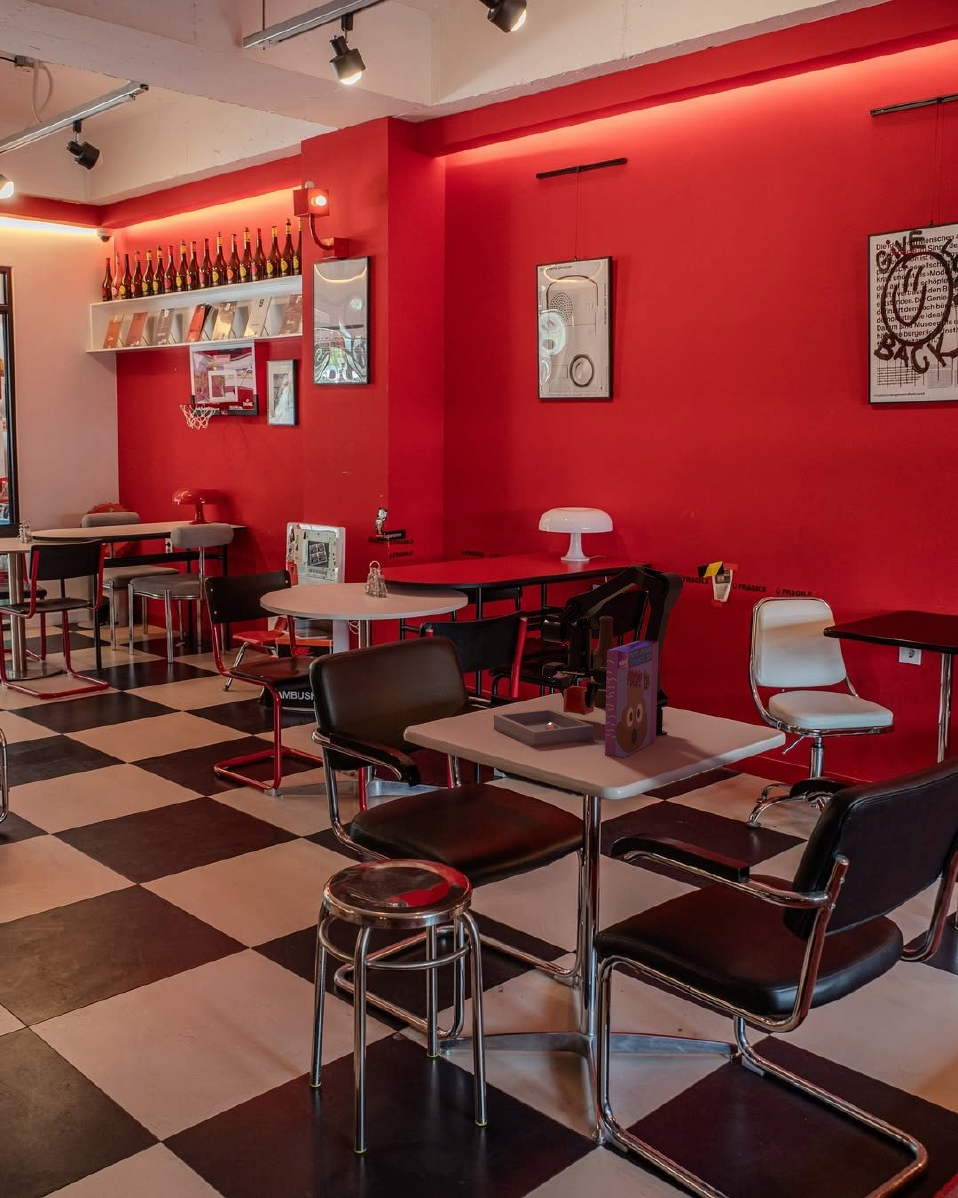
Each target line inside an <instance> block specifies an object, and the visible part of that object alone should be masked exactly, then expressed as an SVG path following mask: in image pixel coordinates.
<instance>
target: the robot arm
mask: <svg viewBox="0 0 958 1198" xmlns="http://www.w3.org/2000/svg"><path fill="white" fill-rule="evenodd" d="M633 586H637V587H639V588H640V589H642V590H645V591H647V599H648V604H649V607H650V609H649V615H648V619H647V624H646V626H645V633H644V638H643V640H650V641H655V642H659V643H658V679H657V714H656V737H657V736H664V735H665V736H666V735H668V733H669V732H668V731H665V730H663V726H664V725H663V723H664V722H663V721H664V719H663V718H664V710H663V708H666V707H668V705H669V702H670V698H669V697H668V695H667V694H666V693H665V692H664V690H663V689H662V687H661V685H662V682H661V680H662V676H661V673H660V669H659V668H660V667H659V666H660V660H661V656H662V652H663V647H664V644H665V643H664V642H665V638H666V634H667V630H668V625H669V620H670V615H671V612H672V610H673V609H674V607H675V606H676V604H677V603H678V601H679V599H680V597H681V594H682V593H683V592H682V591H683V588H684V580H683V579H682V577H681V576H680V575H679V574H678V573H677V572H674V571H673V572H672V571H671V572H665V571H662V570H657V569H653V568H650V567H646V566H643V565H642V564H641V565H640V564H637V565H636V564H635V565H631V566H628V567H627V568H626V569H625V570H624V571H623V570H622V572H620V573H618V574H617V575H615V576H613V577H612V578H610V579H609V580H607V581H605V582H603V583H602V584H600V585H599V586H597V587H595V588H594V589H592V590H589V591H585V592H581V593H579V594H576V595H574V596H571V597H569V598H567V599H566V601H565V606H564V608H563V610H562V611H561V613H560V614H559V615H555V614H547V615H545V620H544V621H543V623H542V625H541V628H540V636H541V639H542V640H543V641H545V642H553V643H561V644H566V643H567V642H568V649H566V650H565V654H566V655H568V656H567V657H568V658H567V665H566V663H564V662H556V661H553V662H549V663H545V664H544V665H543V667H542V669H541V671H542V672H541V675H542V676H543V677H550V678H551V681H554V683H555V685H556V686H557V688H558V690H559V692H560V693H561V696H562V699H563V700H564V689H565V688H568V687H571V685H570V684H571V681H572V677H573V676H575V677H584V678H585V677H586V678H590V680H591V681H587V682H586V687H587V703H588V708H591V707H592V704H593V702H594V699H595V696H596V694H597V691H598V689H599V688H600V686H601V685H602V684H604V683H606V679H607V668H601V662H602V658H601V657H599V656H597V655H594V651H595V649H594V648H592V631H593V630H595V629H600V624H598V623H597V622H596V621H595V620H594V618H590V617H593V616H594V615H595V614H596V613H597V612H599V610H600V609H601V608H602V607H603V605H604V604H605V603H607V602H608V601H610V600H611V599H613V598H615V597H616V596H618V595H619V594H621V593H624V592H625V591H627V590H628V589H630V588H631V587H633ZM585 618H590V619H587V620H582V619H585ZM600 668H601V669H600ZM591 669H596V670H591Z"/></svg>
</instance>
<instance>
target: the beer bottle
mask: <svg viewBox="0 0 958 1198" xmlns="http://www.w3.org/2000/svg"><path fill="white" fill-rule="evenodd" d="M598 621H599V634H598V635H599V636H598V642H597V646H596V648H595V649H594V655H597V656H599V657H601V658H602V662H601V668H607V650H610V649H613V648H615V646H614V636H613V635H614V633H613V632H614V631H613V629H614V628H613V622H614V617H612V616H608V615H604V616H603V615H602V616H601V617H599V620H598ZM601 668H600V669H601ZM591 670H596V669H591ZM590 681H591V679H590ZM590 681H589V682H590ZM596 706H598V707H597V708H603V709H604V708H605V709H606V683H604V684H602V685H601V686H600V688H599V689H598V691H597V694H596V696H595V699H594V707H596Z"/></svg>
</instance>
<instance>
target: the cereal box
mask: <svg viewBox="0 0 958 1198" xmlns="http://www.w3.org/2000/svg"><path fill="white" fill-rule="evenodd" d="M658 643H659V642H655V641H650V640H644V639H643V640H642V639H641V640H640V639H639V640H636V641H632V642H630V643H626V644H623V645H620V646H616V647H614V648H613V649H610V650H607V679H606V707H605V730H604V732H605V734H604V756H607V757H613V758H619V757H620V759H626V758H628V757H629V756H631V755H634V754H635V753H637V752H640V751H641V749H642V750H643V749H645V748H647V747H649V746H651V745H653V744H655V743H656V742H657V741H656V740H657V736H656V714H657V679H658ZM654 742H655V743H654ZM639 750H640V751H639ZM625 757H626V758H625Z"/></svg>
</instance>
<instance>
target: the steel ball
mask: <svg viewBox="0 0 958 1198" xmlns="http://www.w3.org/2000/svg"><path fill="white" fill-rule="evenodd" d="M557 728H558V726H557V725H556V724H555V723H553V722H551V723H548V724H547V725H546V728H545V729H546V730H548V729H557Z"/></svg>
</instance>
